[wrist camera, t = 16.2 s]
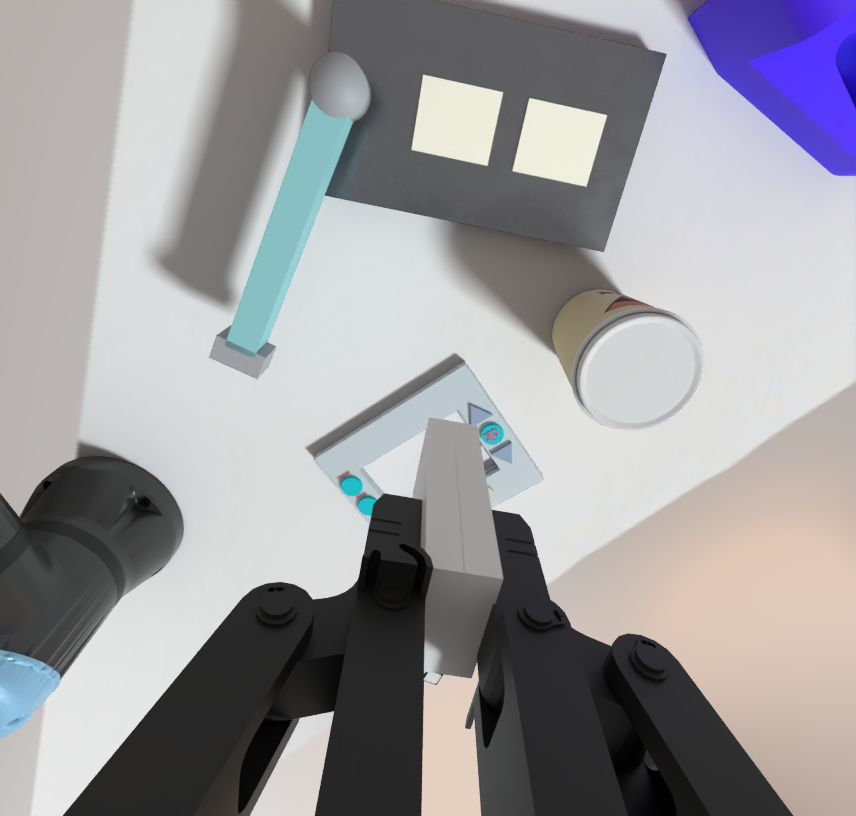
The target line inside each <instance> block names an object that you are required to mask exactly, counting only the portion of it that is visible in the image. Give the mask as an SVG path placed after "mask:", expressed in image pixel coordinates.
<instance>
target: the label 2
mask: <svg viewBox="0 0 856 816" xmlns="http://www.w3.org/2000/svg"><path fill="white" fill-rule="evenodd" d="M606 118H607V115H604V114H600V113H595V112H591V111H586V110H582V109H577V108H572V107H568V106H563V105H559V104H554V103H550V102H545V101H541V100H536V99H532V98H529V101H528V105H527V109H526V113H525V118H524V122H523V126H522V131H521V135H520V139H519V143H518V148H517V152H516V156H515V161H514V165H513V169H512V171H514V172H519V173H523V174H528V175H533V176H538V177H542V178H547V179H552V180H557V181H561V182H566V183H571V184H576V185H580V186H585V187H587V183H588V180H589V176H590V173H591V169H592V166H593V162H594V159H595V156H596V152H597V149H598V145H599V142H600V138H601V135H602V131H603V128H604V124H605V121H606Z"/></svg>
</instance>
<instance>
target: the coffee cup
mask: <svg viewBox="0 0 856 816" xmlns="http://www.w3.org/2000/svg"><path fill="white" fill-rule="evenodd" d="M552 341H553V345H554V348H555V351H556V354H557V356H558V358H559V361H560V363H561V365H562V367H563V369H564V372H565V374H566V376H567V378H568V380H569V382H570V384H571V386H572V389H573V393H574V396H575V398H576V400H577V402H578V404H579V406H580V407H581V409H582V410H583V411H584V412H585V413H586V414H587V415H588V416H589V417H590V418H591V419H593V420H594V421H596V422H597V423H599V424H601V425H603V426H606V427H609V428H613V429H618V430H628V431H635V430H644V429H648V428H652V427H655V426H658V425H660V424H662V423H664V422H666V421H668V420H670V419H671V418H673V417H674V416H675V415H677V414H678V413H679V412H680V411H681V410H683V409H684V408H685V407H686V405H687V404H688V403H689V402H690V401H691V399H692V398H693V396H694V395H695V393H696V392H697V389H698V387H699V385H700V382H701V379H702V375H703V369H704V355H703V349H702V344H701V342H700V339H699V337H698V335H697V334H696V332H695V331H694V329H693V328H692V327H691V326H690V325H689V324H688V323H687V322H686V321H685V320H684V319H682V318H681V317H679V316H678V315H676V314H674V313H671V312H669V311H666V310H663V309H659V308H655V307H653V306H650V305H648V304H645V303H643V302H640V301H638V300H635V299H632V298H630V297H627V296H625V295H622V294H619V293H617V292H613V291H610V290H605V289H595V290H589V291H585V292H583V293H580V294H578V295H576V296H575V297H573V298H572V299H570V300H569V301H568V302H567V303H566V304H565V305H564V306H563V307H562V308H561V310H560V311H559V313H558V315H557V316H556V319H555V321H554V324H553V329H552Z"/></svg>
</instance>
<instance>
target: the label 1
mask: <svg viewBox="0 0 856 816" xmlns="http://www.w3.org/2000/svg"><path fill="white" fill-rule="evenodd" d="M502 95H503V92H500V91H495V90H491V89H486V88H482V87H477V86H473V85H468V84H464V83H459V82H455V81H450V80H446V79H441V78H436V77H432V76H427V75H423V79H422V86H421V92H420V98H419V105H418V111H417V118H416V124H415V130H414V137H413V143H412V149H411V150H414V151H419V152H424V153H428V154H433V155H438V156H443V157H447V158H452V159H457V160H462V161H466V162H471V163H476V164H481V165H485V166H487V165H488V161H489V156H490V151H491V147H492V142H493V137H494V133H495V128H496V123H497V119H498V114H499V109H500V105H501V100H502Z"/></svg>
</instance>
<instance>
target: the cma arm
mask: <svg viewBox="0 0 856 816" xmlns="http://www.w3.org/2000/svg"><path fill="white" fill-rule="evenodd" d="M309 89H310V93H311V96H312V100H311V103H310V106H309V109H308V112H307V114H306V117H305V120H304V123H303V126H302V129H301V131H300V134H299V137H298V140H297V143H296V145H295V148H294V151H293V154H292V157H291V160H290V162H289V165H288V168H287V171H286V174H285V176H284V179H283V182H282V185H281V188H280V191H279V193H278V196H277V199H276V202H275V205H274V208H273V210H272V213H271V216H270V219H269V222H268V224H267V227H266V230H265V233H264V236H263V239H262V241H261V244H260V247H259V250H258V253H257V255H256V258H255V261H254V264H253V267H252V270H251V272H250V275H249V278H248V281H247V284H246V287H245V289H244V292H243V295H242V298H241V301H240V303H239V306H238V309H237V312H236V315H235V318H234V320H233V323H232V326H229V327H228V328H226V329H225V330H224V331H222V332H221V333H219V334H218V335H217V336H216V339H215V342H214V344H213V347H212V350H211V353H210V356H209V358H211V359H213V360H216V361H218V362H220V363H222V364H225V365H227V366H229V367H231V368H234V369H236V370H238V371H240V372H242V373H245V374H247V375H249V376H251V377H254V378H256V379H258V378H259V377H260V375H261V374H262V373H263V372H264V371H265V370H266V369H267V368H268V366H269V364H270V361H271V359H272V356H273V354H274V351H275V349H276V346H274V345H272V344H270V343H267V342H268V339H269V337H270V334H271V332H272V329H273V326H274V324H275V321H276V319H277V316H278V314H279V311H280V309H281V306H282V303H283V301H284V298H285V296H286V293H287V291H288V288H289V285H290V283H291V280H292V278H293V275H294V273H295V270H296V267H297V265H298V262H299V260H300V257H301V255H302V252H303V249H304V247H305V244H306V242H307V239H308V237H309V234H310V231H311V229H312V226H313V224H314V221H315V219H316V216H317V213H318V211H319V208H320V206H321V203H322V201H323V198H324V195H325V193H326V190H327V188H328V185H329V183H330V180H331V178H332V175H333V172H334V170H335V167H336V165H337V162H338V160H339V157H340V154H341V152H342V149H343V147H344V144H345V142H346V139H347V136H348V134H349V131H350V129H351V126H352V124H353V122H354V121H357V120H358V119H360V118H361V117H362V116H363V115H364V114H365V113H366V111H367V110H368V108H369V105H370V101H371V88H370V84H369V81H368V79H367V77H366V76H365V74H364V73H363V71H362V70H361V68H360V67H359V65H358V64H357V63H356V61H355V60H353V59H352V58H351V57H350V56H348V55H346V54H344V53H340V52H330V53H327V54H325V55H323V56H321V57H320V58H319V59H318V60H317V61H316V62H315V64H314V65H313V67H312V69H311V72H310V77H309Z"/></svg>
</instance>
